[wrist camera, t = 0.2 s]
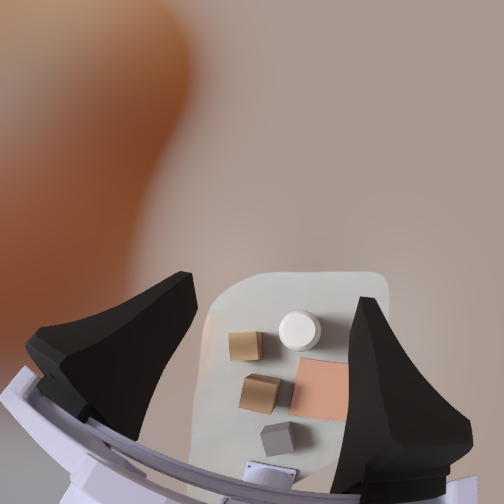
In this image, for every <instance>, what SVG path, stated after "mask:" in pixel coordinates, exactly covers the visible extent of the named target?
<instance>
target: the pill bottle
mask: <svg viewBox="0 0 504 504" xmlns="http://www.w3.org/2000/svg"><path fill="white" fill-rule="evenodd" d="M279 335H280V339H281V341H282V342H283V344H284V345H285V346H286V347H287V348H289V349H291V350H293V351H298V352H302V351H307V350H309V349H311V348H312V347H314V346H315V345H316V344H317V342H318V341H319V339H320V336H321V325H320V323H319V321H318V319H317V318H316V317H315V316H314V315H313V314H312V313H310V312H308V311H304V310H297V311H293V312H291V313H289V314H288V315H286V316H285V317H284V319H283V320H282V322H281V324H280V327H279Z"/></svg>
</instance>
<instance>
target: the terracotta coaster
mask: <svg viewBox="0 0 504 504" xmlns="http://www.w3.org/2000/svg"><path fill="white" fill-rule="evenodd" d="M348 400H349V368H348V364H344V363H335V362H327V361H319V360H311V359H304V358H300V363H299V368H298V373H297V378H296V382H295V387H294V392H293V397H292V401H291V406H290V410H289V414H290V415H297V416H303V417H310V418H318V419H327V420H336V421H346V419H347V412H348Z"/></svg>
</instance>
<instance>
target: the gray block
mask: <svg viewBox="0 0 504 504" xmlns="http://www.w3.org/2000/svg"><path fill="white" fill-rule="evenodd" d="M260 435H261V439H262V442H263V446H264V449H265V452H266V456H267V457H269V456H275V455H281V454H287V453H292V452H294V450H295V445H296V441H295V437H294V434H293V430H292V426H291V423H290V421H289V422H284V423H279V424H274V425H269V426H265V427H264V429H263V430H262V432H261V434H260Z"/></svg>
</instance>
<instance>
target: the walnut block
mask: <svg viewBox="0 0 504 504" xmlns="http://www.w3.org/2000/svg"><path fill="white" fill-rule="evenodd" d="M280 382H281V379H277V378H272V377H267V376H261V375H256V374H251V375H249V376H247V377H246V378H244V383H243V388H242V393H241V398H240V403H239V408H242V409H246V410H251V411H255V412H260V413H265V414H270V415H271V413H272V411H273V410H274V408H275V405H276V401H277V396H278V391H279V387H280Z"/></svg>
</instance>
